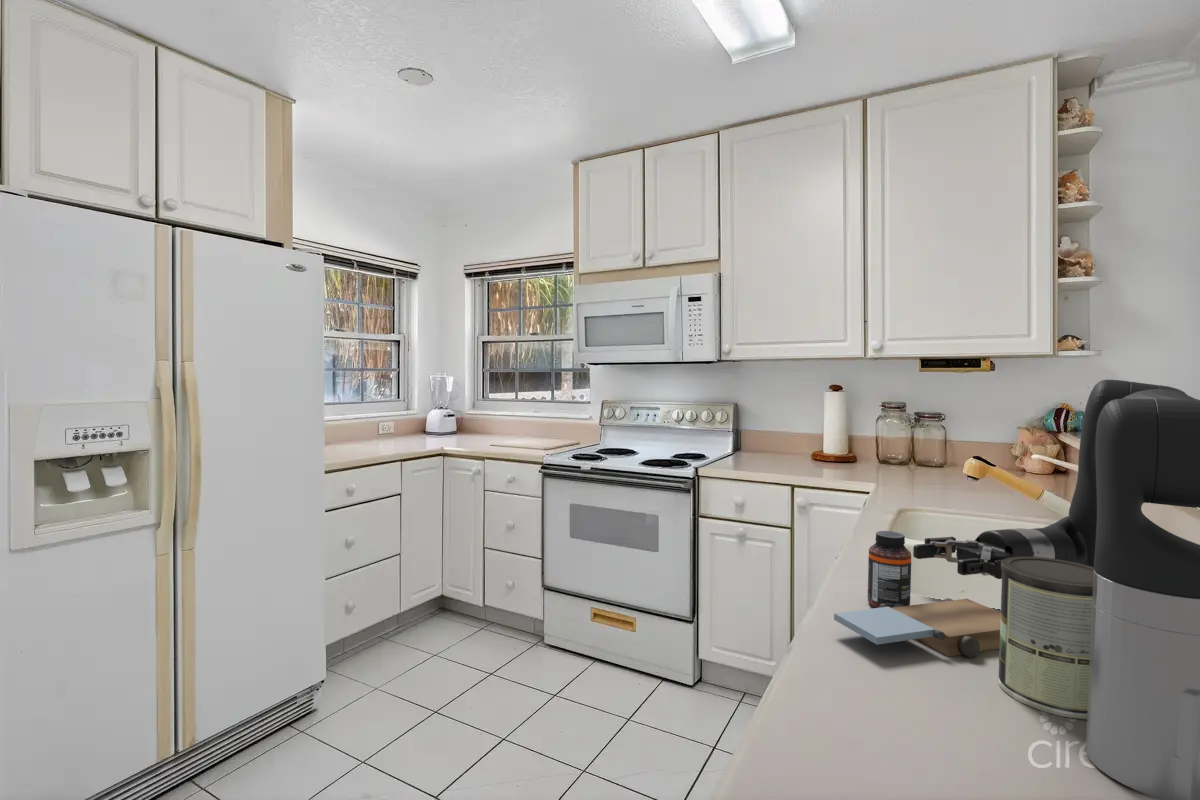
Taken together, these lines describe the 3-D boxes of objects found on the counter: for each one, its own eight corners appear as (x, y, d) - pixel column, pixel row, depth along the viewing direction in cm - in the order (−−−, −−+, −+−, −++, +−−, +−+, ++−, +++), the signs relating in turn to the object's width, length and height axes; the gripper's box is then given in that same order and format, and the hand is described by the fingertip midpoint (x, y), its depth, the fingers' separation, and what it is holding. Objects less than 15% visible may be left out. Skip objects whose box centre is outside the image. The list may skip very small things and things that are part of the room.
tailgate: (934, 629, 78) (877, 637, 75) (934, 639, 78) (876, 647, 75) (888, 606, 85) (834, 613, 83) (887, 615, 85) (833, 622, 83)
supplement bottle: (873, 596, 98) (875, 526, 97) (914, 605, 94) (916, 533, 93) (862, 607, 93) (864, 533, 92) (904, 617, 89) (907, 540, 89)
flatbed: (1039, 647, 80) (1040, 624, 79) (948, 661, 75) (949, 637, 75) (959, 612, 91) (960, 592, 91) (876, 623, 87) (876, 602, 87)
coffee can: (978, 669, 73) (983, 554, 73) (1070, 675, 72) (1075, 557, 72) (1030, 717, 63) (1036, 582, 62) (1138, 724, 62) (1144, 587, 61)
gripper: (976, 519, 107) (902, 525, 102) (1058, 540, 94) (977, 548, 89) (975, 561, 107) (900, 569, 103) (1056, 589, 94) (975, 598, 89)
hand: (936, 559), depth 96 cm, fingers open, 8 cm apart
